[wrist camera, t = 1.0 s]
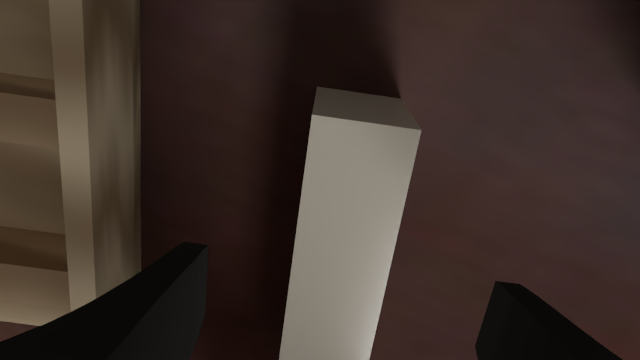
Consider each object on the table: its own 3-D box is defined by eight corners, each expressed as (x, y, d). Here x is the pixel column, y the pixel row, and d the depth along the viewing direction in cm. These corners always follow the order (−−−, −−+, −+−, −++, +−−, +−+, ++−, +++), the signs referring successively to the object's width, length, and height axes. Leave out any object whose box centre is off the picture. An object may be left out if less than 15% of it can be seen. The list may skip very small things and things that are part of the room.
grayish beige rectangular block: (350, 343, 24) (353, 426, 20) (283, 335, 24) (271, 416, 19) (400, 97, 19) (421, 130, 15) (317, 85, 19) (312, 114, 15)
